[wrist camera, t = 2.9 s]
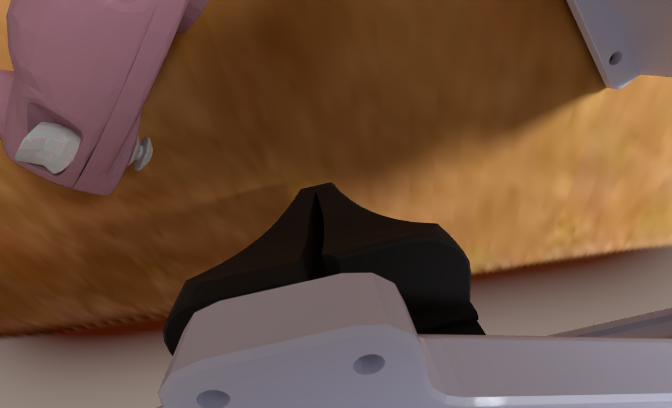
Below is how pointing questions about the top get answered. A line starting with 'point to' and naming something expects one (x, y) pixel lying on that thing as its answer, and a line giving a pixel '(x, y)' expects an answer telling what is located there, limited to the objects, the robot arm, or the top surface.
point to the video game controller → (84, 84)
